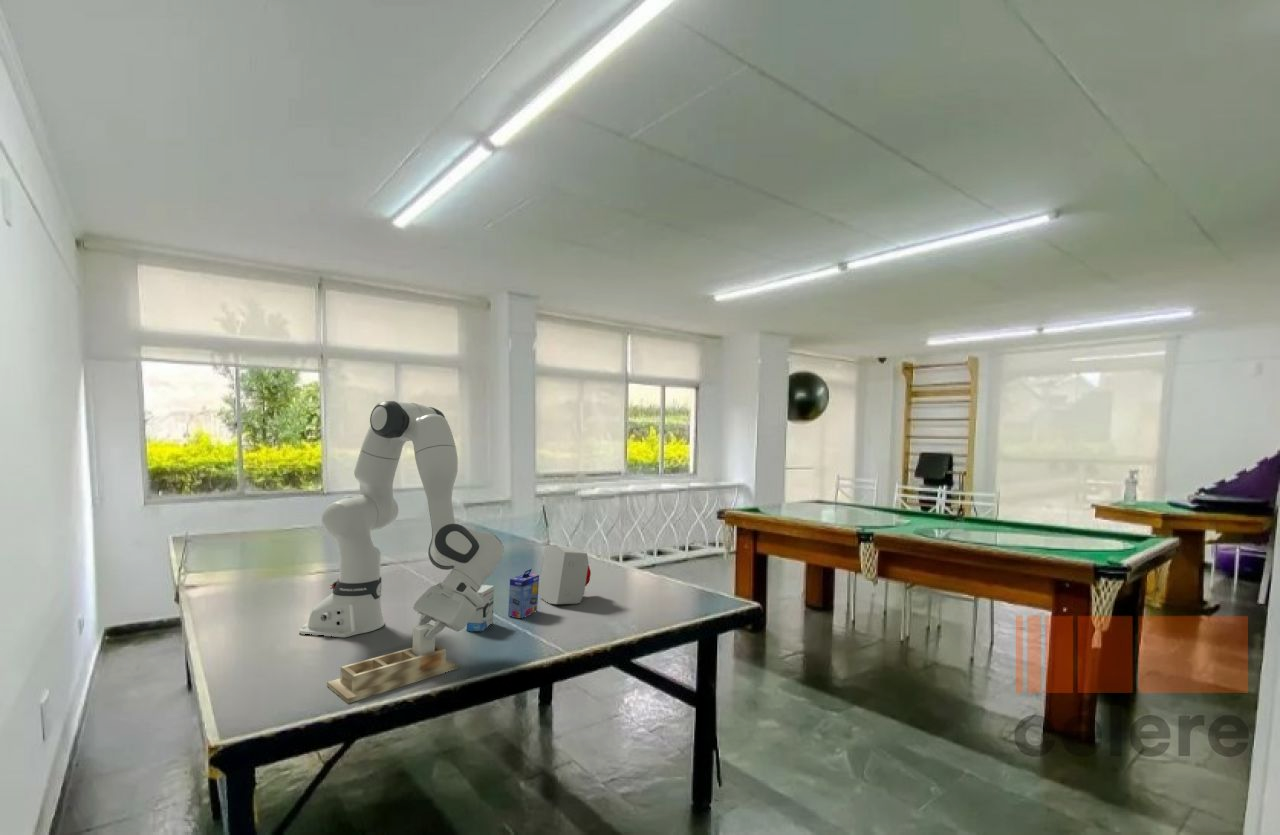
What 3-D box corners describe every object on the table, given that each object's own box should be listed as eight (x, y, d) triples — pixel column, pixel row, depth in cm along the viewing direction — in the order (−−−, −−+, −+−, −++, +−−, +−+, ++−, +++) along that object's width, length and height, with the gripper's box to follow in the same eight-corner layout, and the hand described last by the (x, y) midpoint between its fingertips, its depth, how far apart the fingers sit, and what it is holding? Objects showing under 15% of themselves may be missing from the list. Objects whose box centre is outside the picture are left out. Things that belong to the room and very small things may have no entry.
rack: (347, 703, 124) (348, 682, 124) (326, 686, 132) (327, 666, 132) (457, 668, 143) (457, 650, 143) (433, 655, 151) (433, 638, 151)
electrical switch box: (593, 607, 203) (602, 550, 205) (556, 608, 194) (565, 548, 197) (573, 598, 215) (581, 543, 217) (537, 597, 206) (546, 541, 209)
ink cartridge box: (522, 619, 182) (523, 573, 182) (507, 617, 184) (508, 571, 184) (538, 611, 191) (539, 567, 191) (524, 608, 193) (525, 565, 194)
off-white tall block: (412, 659, 142) (413, 627, 143) (427, 655, 145) (428, 623, 146) (419, 663, 140) (419, 630, 140) (434, 659, 143) (435, 626, 143)
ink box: (481, 632, 169) (482, 592, 170) (465, 631, 170) (466, 591, 171) (494, 623, 178) (495, 585, 178) (479, 622, 179) (480, 584, 179)
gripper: (430, 574, 155) (393, 619, 148) (472, 589, 142) (433, 639, 134) (445, 588, 159) (410, 632, 151) (487, 603, 145) (450, 653, 137)
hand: (421, 636), depth 142 cm, fingers closed on off-white tall block, 3 cm apart
